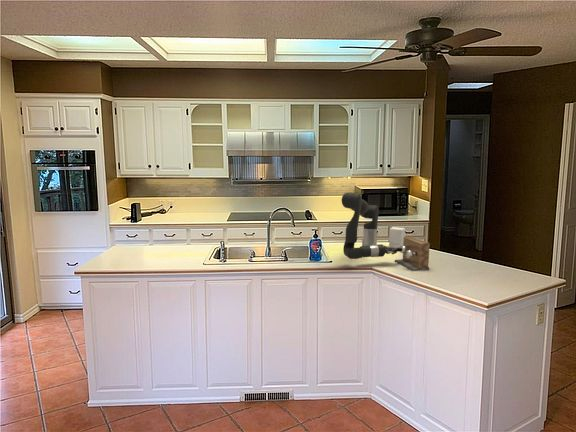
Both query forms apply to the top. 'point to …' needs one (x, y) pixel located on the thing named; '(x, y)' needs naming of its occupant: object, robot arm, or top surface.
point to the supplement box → (396, 237)
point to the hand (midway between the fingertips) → (401, 249)
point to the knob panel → (417, 260)
